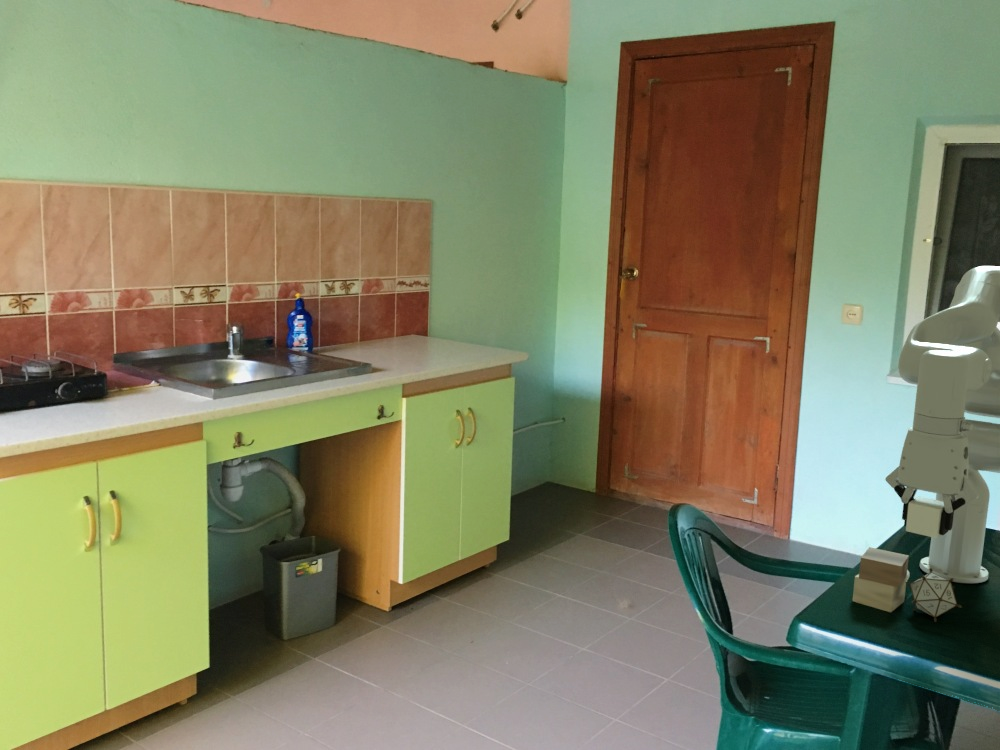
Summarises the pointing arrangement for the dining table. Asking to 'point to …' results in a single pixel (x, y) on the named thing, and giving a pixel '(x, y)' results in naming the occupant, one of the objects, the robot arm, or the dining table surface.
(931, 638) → the dining table surface
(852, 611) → the dining table surface
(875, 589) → the oak block
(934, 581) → the game die
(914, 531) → the ivory cube
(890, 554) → the walnut block
